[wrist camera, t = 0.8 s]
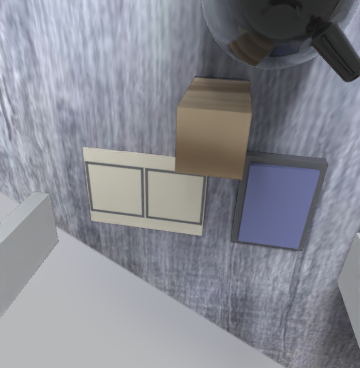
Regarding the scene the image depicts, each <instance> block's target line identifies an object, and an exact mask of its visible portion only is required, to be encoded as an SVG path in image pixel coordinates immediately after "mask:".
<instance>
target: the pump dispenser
mask: <svg viewBox="0 0 360 368" xmlns="http://www.w3.org/2000/svg"><path fill="white" fill-rule="evenodd" d="M201 2H202V9H203V14H204V18H205V21H206V24H207V26H208V29H209V31H210V33H211V35H212V36H213V38H214V39H215V41H216V42H217V44H218V45H219V46H220V47H221V48H222V49H223V50H224V51H225V52H226V53H227V54H228V55H229V56H231V57H232V58H234V59H235V60H237V61H239V62H241V63H243V64H245V65H248V66H251V67H255V68H260V69H284V68H289V67H293V66H296V65H299V64H302V63H304V62H306V61H308V60H310V59H312V58H314V57H315V56H317V55H319V54H320V55H321V57H322V58H323V59H324V60H325V61H326V62H327V63H328V64H329V65H330V66H331V68H332V69H333V70H334V71H335V72H336V73H337V74H338V75H339V76H340V77H341V79H342V80H343V81H344V82H352V81H354V80H356V79H357V78H358V77H360V57H359V55H358V54H357V52H356V51H355V49H354V48H353V46H352V45H351V43H350V42H349V40H348V38H347V37H346V35H345V34H344V32H343V31H344V30H345V28H346V27H347V25H348V24H349V22H350V21H351V19H352V17H353V16H354V14H355V12H356V10H357V7H358V5H359V2H360V0H201Z"/></svg>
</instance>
